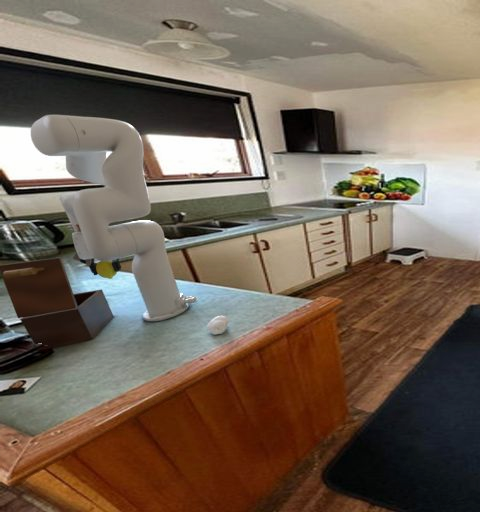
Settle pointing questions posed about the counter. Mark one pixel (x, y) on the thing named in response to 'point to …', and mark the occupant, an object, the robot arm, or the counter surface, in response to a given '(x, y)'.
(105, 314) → the box
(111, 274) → the lemon
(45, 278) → the lid
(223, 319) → the dumpling
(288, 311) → the counter surface
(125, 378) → the counter surface
